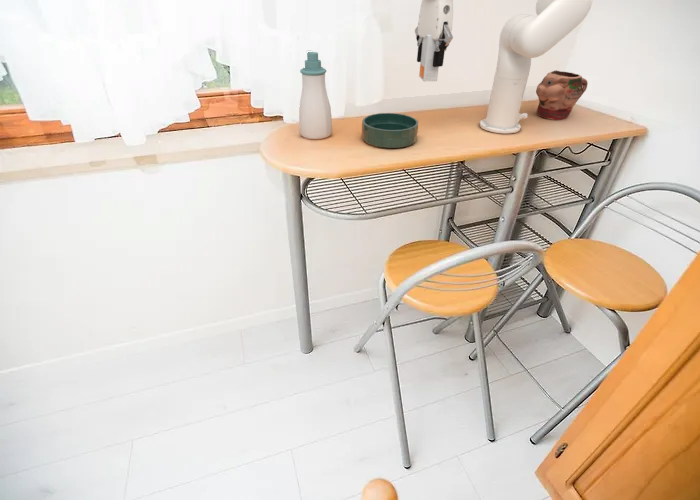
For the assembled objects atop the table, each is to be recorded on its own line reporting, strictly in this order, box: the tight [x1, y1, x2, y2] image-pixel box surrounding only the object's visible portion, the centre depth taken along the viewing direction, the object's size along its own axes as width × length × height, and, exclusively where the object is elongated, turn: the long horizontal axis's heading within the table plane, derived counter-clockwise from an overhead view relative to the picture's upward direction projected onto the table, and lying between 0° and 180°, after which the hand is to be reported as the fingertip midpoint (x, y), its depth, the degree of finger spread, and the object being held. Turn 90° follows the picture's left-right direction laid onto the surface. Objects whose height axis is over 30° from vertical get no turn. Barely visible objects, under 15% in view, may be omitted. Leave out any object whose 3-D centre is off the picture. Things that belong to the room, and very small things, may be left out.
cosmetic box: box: [418, 35, 442, 82], centre depth 114 cm, size 6×4×12 cm
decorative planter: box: [535, 70, 589, 121], centre depth 136 cm, size 20×12×14 cm, turn 114°
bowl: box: [361, 112, 419, 149], centre depth 118 cm, size 16×16×6 cm
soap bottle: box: [298, 51, 333, 140], centre depth 115 cm, size 10×10×23 cm
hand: (429, 63), depth 115 cm, fingers closed on cosmetic box, 7 cm apart
